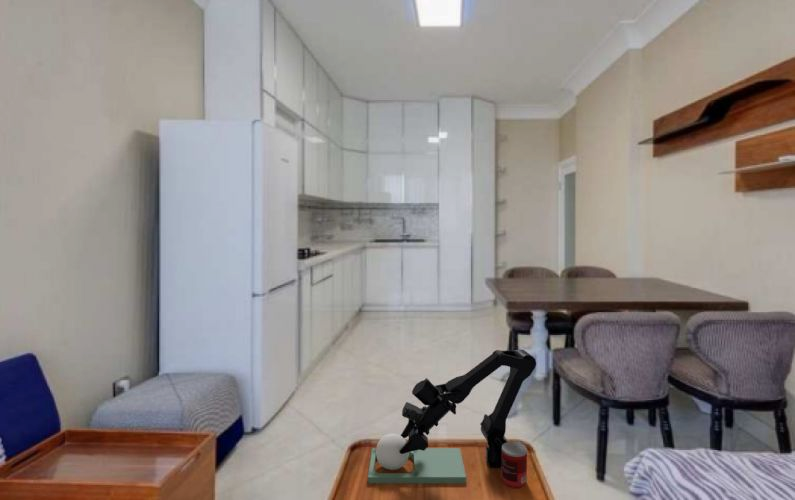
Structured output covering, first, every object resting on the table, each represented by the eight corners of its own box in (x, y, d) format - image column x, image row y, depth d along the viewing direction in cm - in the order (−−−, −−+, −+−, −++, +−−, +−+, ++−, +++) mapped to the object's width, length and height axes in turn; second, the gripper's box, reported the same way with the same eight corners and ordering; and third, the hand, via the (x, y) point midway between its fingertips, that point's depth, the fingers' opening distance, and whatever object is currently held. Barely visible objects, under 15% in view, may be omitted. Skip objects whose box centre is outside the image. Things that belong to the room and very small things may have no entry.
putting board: (459, 453, 158) (459, 448, 158) (466, 483, 142) (466, 477, 141) (371, 453, 159) (371, 448, 159) (367, 483, 142) (367, 477, 142)
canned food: (524, 474, 146) (524, 441, 145) (528, 489, 138) (529, 455, 137) (499, 473, 147) (500, 440, 146) (503, 488, 139) (503, 454, 138)
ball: (389, 421, 155) (370, 447, 156) (388, 436, 144) (368, 463, 145) (415, 440, 156) (396, 465, 156) (416, 456, 145) (396, 483, 145)
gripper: (415, 384, 157) (384, 415, 159) (417, 408, 139) (381, 443, 140) (438, 406, 158) (407, 437, 159) (442, 433, 139) (407, 467, 141)
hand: (400, 445), depth 150 cm, fingers open, 9 cm apart
